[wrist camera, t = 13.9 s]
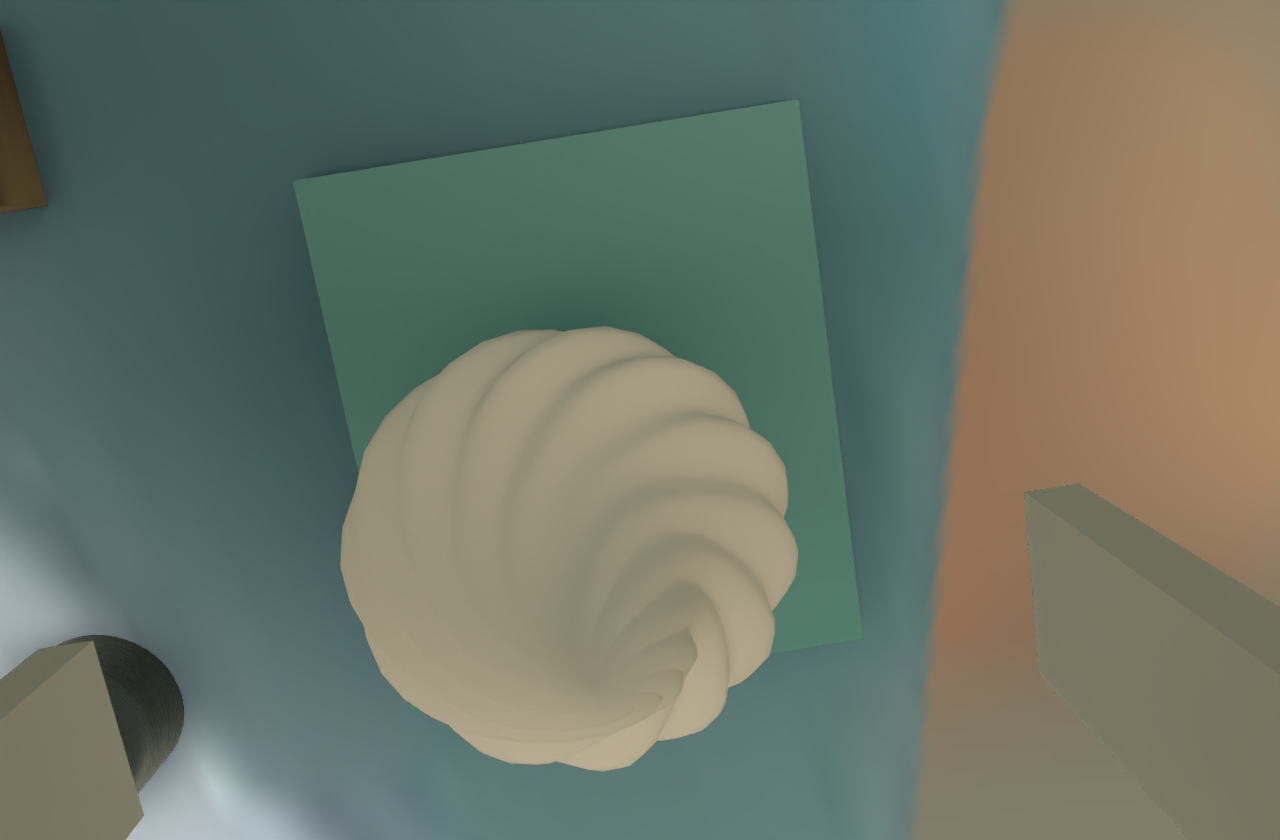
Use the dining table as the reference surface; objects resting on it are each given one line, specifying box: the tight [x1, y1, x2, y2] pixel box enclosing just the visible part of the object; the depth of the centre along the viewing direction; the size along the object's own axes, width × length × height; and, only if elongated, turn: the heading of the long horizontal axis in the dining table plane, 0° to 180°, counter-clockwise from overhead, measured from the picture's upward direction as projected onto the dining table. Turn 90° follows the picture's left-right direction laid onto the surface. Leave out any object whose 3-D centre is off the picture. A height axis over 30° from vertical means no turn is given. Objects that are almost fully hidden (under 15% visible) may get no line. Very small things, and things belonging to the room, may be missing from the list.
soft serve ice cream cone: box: [340, 326, 798, 771], centre depth 22 cm, size 8×8×16 cm
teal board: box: [293, 99, 863, 711], centre depth 31 cm, size 16×14×2 cm
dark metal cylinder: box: [57, 635, 184, 793], centre depth 30 cm, size 5×5×6 cm
